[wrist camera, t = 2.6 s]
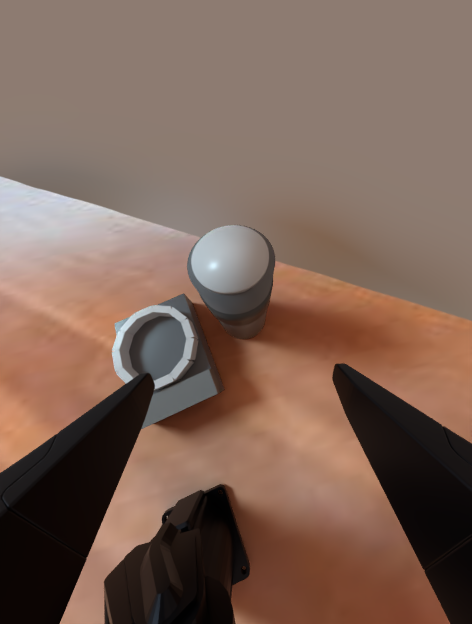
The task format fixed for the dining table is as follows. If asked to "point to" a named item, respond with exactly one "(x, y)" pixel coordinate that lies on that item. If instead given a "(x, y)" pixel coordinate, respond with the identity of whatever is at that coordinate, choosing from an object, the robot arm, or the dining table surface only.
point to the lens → (234, 277)
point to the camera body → (167, 356)
